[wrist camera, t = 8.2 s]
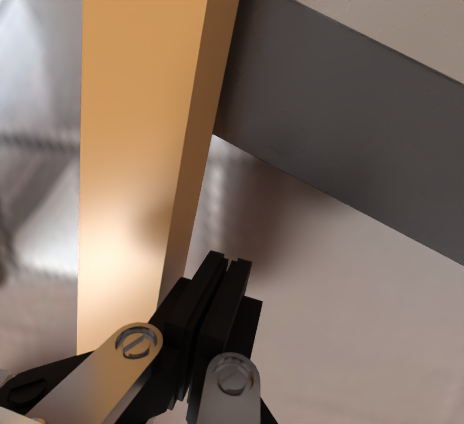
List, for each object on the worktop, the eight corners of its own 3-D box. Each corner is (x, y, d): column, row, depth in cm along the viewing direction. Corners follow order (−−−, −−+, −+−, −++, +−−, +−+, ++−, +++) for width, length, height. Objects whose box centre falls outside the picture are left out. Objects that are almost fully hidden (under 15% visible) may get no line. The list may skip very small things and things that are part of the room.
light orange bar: (162, -291, 7) (86, -496, 4) (299, -278, 6) (296, -499, 4) (108, 358, 15) (73, 404, 13) (163, 381, 15) (138, 432, 13)
